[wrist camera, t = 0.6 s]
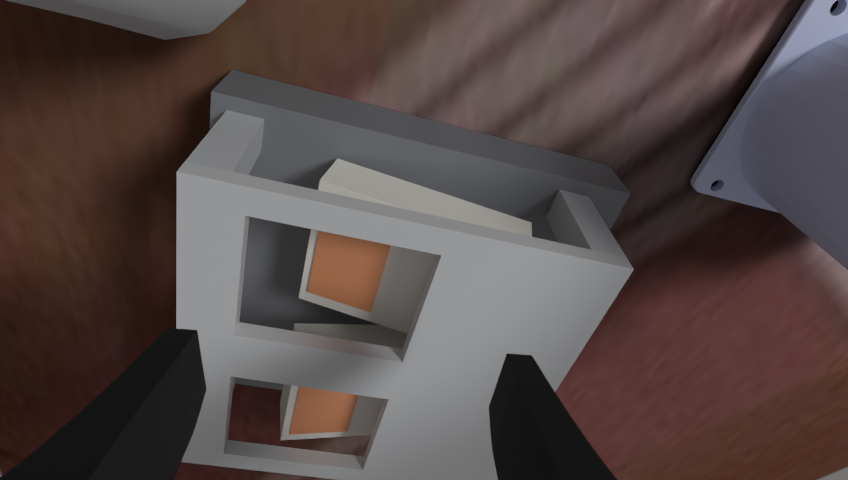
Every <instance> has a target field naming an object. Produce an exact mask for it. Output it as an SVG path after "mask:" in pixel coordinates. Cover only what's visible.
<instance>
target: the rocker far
mask: <svg viewBox="0 0 848 480" xmlns="http://www.w3.org/2000/svg"><path fill="white" fill-rule="evenodd" d="M293 331H297V332H303V333H309V334H315V335H321V336H327V337H333V338H339V339H345V340H351V341H357V342H363V343H369V344H375V345H382V346H388V347H394V348H400V349H403V346H404V343H405V341H406V338H407V335H408V334H406V333H403V332H400V331H397V330H394V329H391V328H388V327H385V326H382V325H358V324H306V323H294V328H293ZM383 402H384V399H382V398H376V397H369V396H362V395H355V394H348V393H341V392H334V391H327V390H320V389H314V388H307V387H300V386H293V385H286V384H283V389H282V395H281V400H280V436H281V440H296V439H313V438H329V437H346V436H363V435H372V433H373V430H374V427H375V424H376V421H377V419H378V416H379V413H380V410H381V407H382V405H383Z"/></svg>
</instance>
